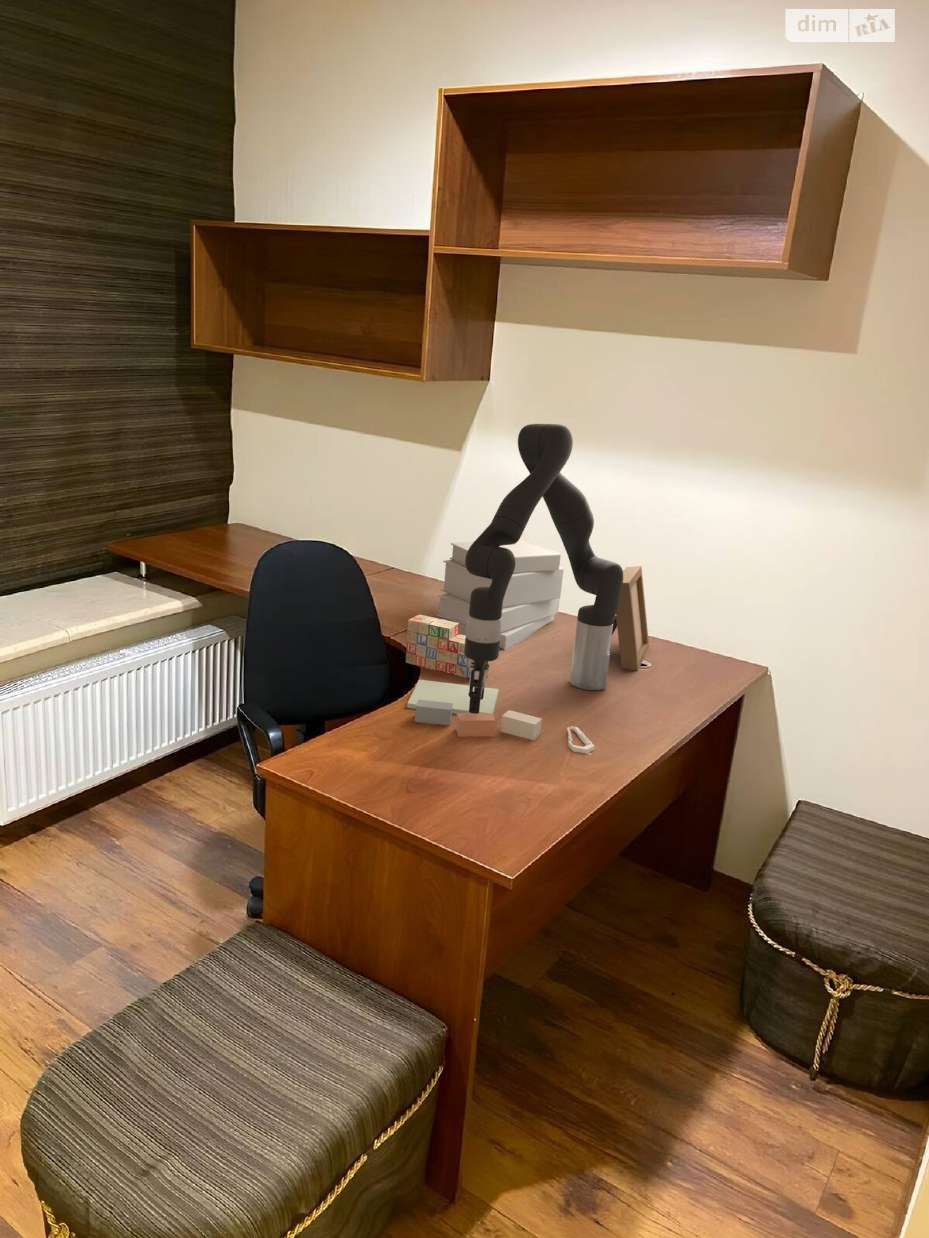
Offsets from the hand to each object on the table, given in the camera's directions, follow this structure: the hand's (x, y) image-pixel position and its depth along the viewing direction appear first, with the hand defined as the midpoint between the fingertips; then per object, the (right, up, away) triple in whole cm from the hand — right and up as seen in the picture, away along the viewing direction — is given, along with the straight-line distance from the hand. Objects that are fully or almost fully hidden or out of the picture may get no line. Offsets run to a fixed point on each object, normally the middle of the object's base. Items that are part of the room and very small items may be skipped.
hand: (476, 705), depth 206 cm
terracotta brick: (0, -6, +2) cm, 7 cm away
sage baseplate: (-5, 0, +19) cm, 19 cm away
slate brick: (-10, -4, +7) cm, 12 cm away
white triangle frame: (+22, -9, +2) cm, 24 cm away
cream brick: (+10, -7, +4) cm, 13 cm away
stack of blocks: (-8, +6, +40) cm, 41 cm away
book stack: (+7, +15, +75) cm, 76 cm away
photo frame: (+41, +8, +59) cm, 72 cm away
